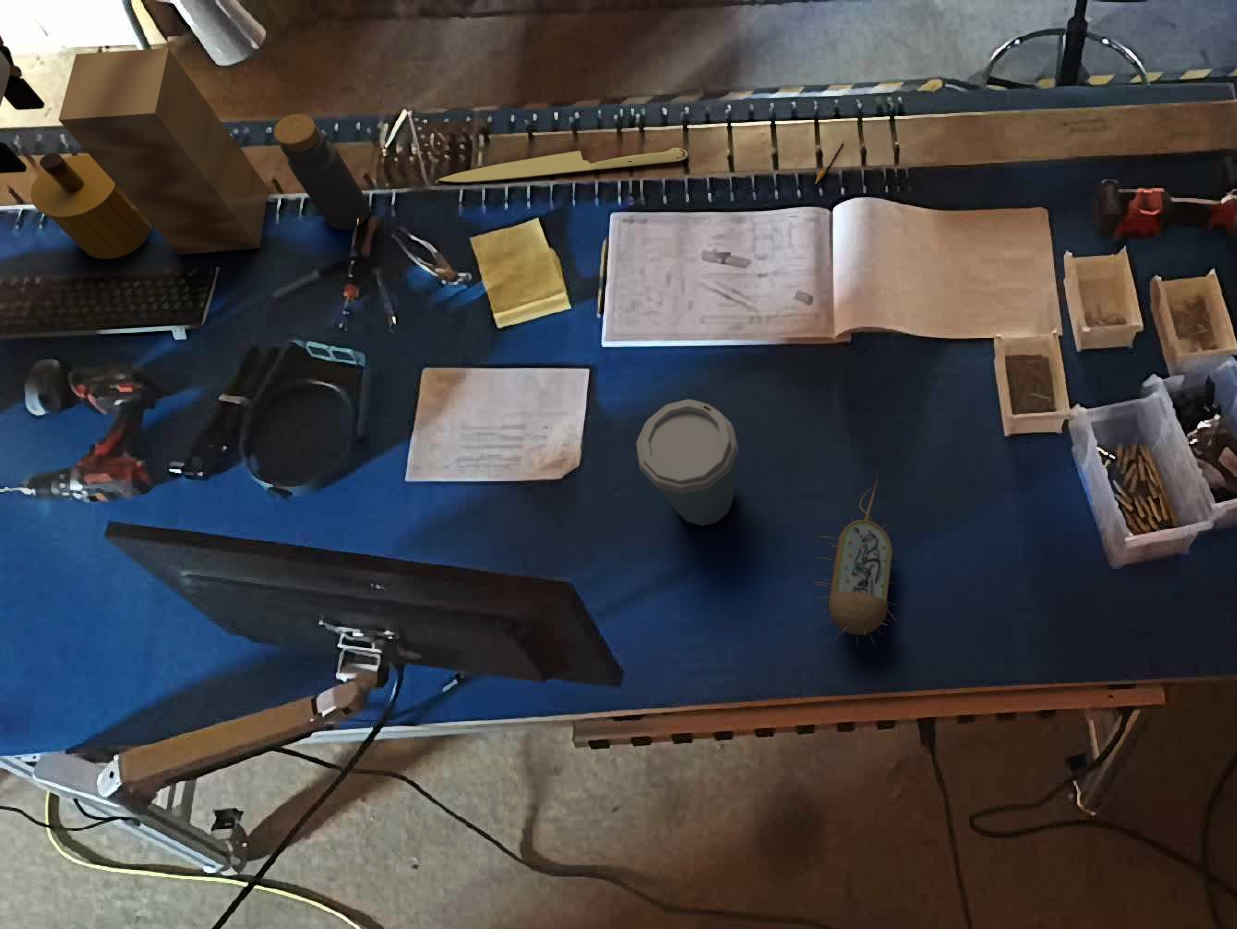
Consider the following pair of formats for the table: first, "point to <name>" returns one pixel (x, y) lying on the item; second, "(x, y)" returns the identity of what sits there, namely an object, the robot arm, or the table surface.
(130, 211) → the wooden cup
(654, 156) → the knife
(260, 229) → the stand
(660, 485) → the disposable coffee cup
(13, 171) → the robot arm
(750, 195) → the table surface
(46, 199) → the lid
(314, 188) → the bottle
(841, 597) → the bacterium
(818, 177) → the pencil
